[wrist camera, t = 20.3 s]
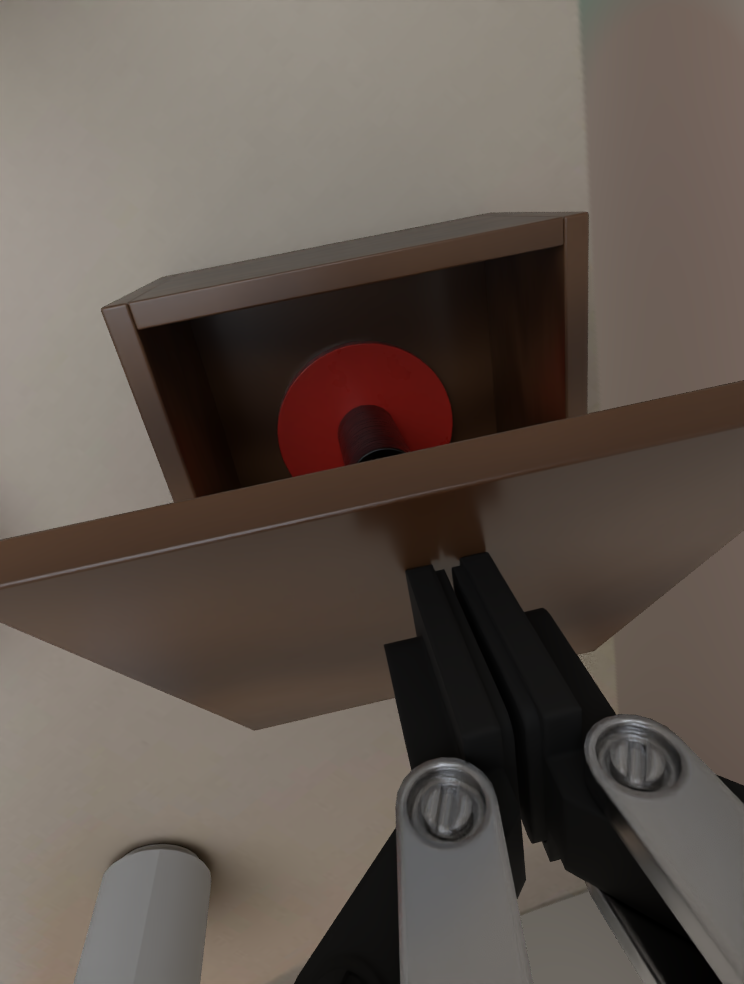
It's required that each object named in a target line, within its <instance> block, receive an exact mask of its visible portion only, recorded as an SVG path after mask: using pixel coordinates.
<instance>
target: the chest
mask: <svg viewBox="0 0 744 984" xmlns="http://www.w3.org/2000/svg"><path fill="white" fill-rule="evenodd" d="M588 242H589V214H588V212H504V213H487V214H482V215H477V216H471V217H466V218H461V219H456V220H451V221H446V222H441V223H436V224H431V225H426V226H420V227H415V228H410V229H405V230H400V231H395V232H390V233H385V234H380V235H374V236H369V237H364V238H359V239H354V240H349V241H344V242H339V243H334V244H328V245H323V246H318V247H313V248H308V249H303V250H298V251H293V252H288V253H283V254H277V255H272V256H267V257H262V258H257V259H252V260H247V261H242V262H237V263H231V264H226V265H221V266H216V267H211V268H206V269H201V270H196V271H191V272H186V273H180V274H175V275H170V276H165V277H161V278H159V279H157V280H155V281H153V282H151V283H149V284H147V285H145V286H143V287H141V288H140V289H138V290H136V291H134V292H132V293H130V294H128V295H126V296H124V297H122V298H120V299H118V300H116V301H114V302H112V303H110V304H108V305H106V306H104V307H103V308H101V312H102V314H103V317H104V320H105V322H106V325H107V328H108V330H109V333H110V335H111V338H112V341H113V343H114V346H115V349H116V351H117V354H118V356H119V359H120V362H121V364H122V367H123V370H124V372H125V375H126V377H127V380H128V383H129V385H130V388H131V391H132V393H133V396H134V398H135V401H136V404H137V406H138V409H139V412H140V414H141V417H142V419H143V422H144V425H145V427H146V430H147V433H148V435H149V438H150V440H151V443H152V446H153V448H154V451H155V454H156V456H157V459H158V461H159V464H160V467H161V469H162V472H163V475H164V477H165V480H166V482H167V485H168V488H169V490H170V493H171V496H172V498H173V501H174V502H179V501H184V500H188V499H193V498H198V497H202V496H207V495H212V494H216V493H221V492H226V491H230V490H235V489H240V488H244V487H249V486H254V485H258V484H263V483H268V482H272V481H277V480H282V479H286V478H291V477H293V476H292V475H291V474H290V472H289V471H288V469H287V467H286V465H285V463H284V461H283V458H282V455H281V452H280V448H279V443H278V432H277V425H278V414H279V410H280V405H281V402H282V399H283V397H284V394H285V392H286V390H287V388H288V386H289V385H290V383H291V381H292V380H293V379H294V377H295V376H296V375H297V373H298V372H299V371H300V370H301V369H302V368H303V367H304V366H305V365H306V364H307V363H308V362H310V361H311V360H312V359H313V358H315V357H316V356H318V355H319V354H321V353H323V352H325V351H326V350H329V349H331V348H333V347H336V346H338V345H342V344H346V343H349V342H357V341H378V342H385V343H389V344H393V345H396V346H399V347H401V348H403V349H406V350H408V351H409V352H411V353H413V354H414V355H416V356H417V357H419V358H420V359H421V360H422V361H424V362H425V363H426V364H427V365H428V366H429V367H430V368H431V369H432V371H433V372H434V373H435V374H436V375H437V377H438V378H439V380H440V381H441V382H442V384H443V386H444V388H445V390H446V392H447V395H448V398H449V401H450V404H451V410H452V419H453V427H452V437H451V441H450V443H454V442H459V441H463V440H468V439H473V438H477V437H482V436H487V435H491V434H496V433H501V432H505V431H510V430H515V429H519V428H524V427H528V426H533V425H538V424H542V423H547V422H552V421H556V420H561V419H566V418H570V417H575V416H580V415H584V414H587V372H588Z"/></svg>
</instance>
